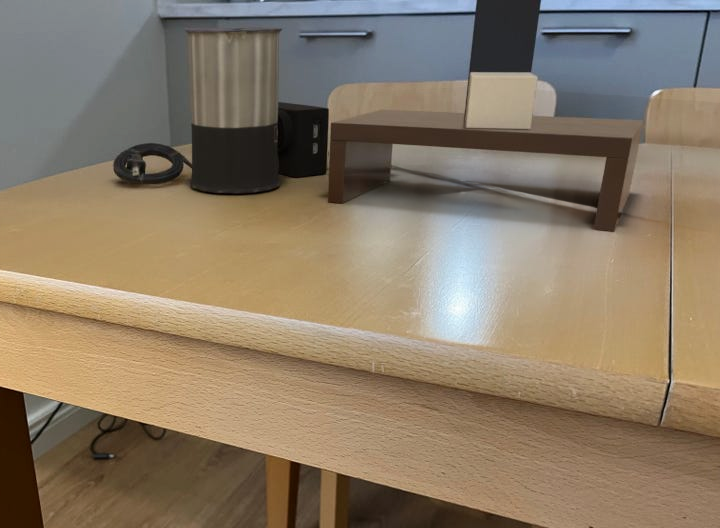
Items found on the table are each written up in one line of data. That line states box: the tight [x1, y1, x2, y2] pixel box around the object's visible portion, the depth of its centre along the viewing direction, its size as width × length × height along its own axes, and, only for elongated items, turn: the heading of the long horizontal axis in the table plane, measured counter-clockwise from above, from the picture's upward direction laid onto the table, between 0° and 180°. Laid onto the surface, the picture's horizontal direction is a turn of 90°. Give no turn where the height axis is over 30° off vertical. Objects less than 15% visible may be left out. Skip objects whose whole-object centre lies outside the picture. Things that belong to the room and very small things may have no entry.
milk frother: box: [112, 26, 283, 195], centre depth 74 cm, size 14×16×15 cm
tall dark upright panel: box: [464, 0, 542, 130], centre depth 63 cm, size 11×5×15 cm, turn 165°
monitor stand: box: [327, 109, 644, 232], centre depth 67 cm, size 13×24×7 cm, turn 61°
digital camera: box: [277, 101, 330, 178], centre depth 84 cm, size 10×5×7 cm, turn 31°
